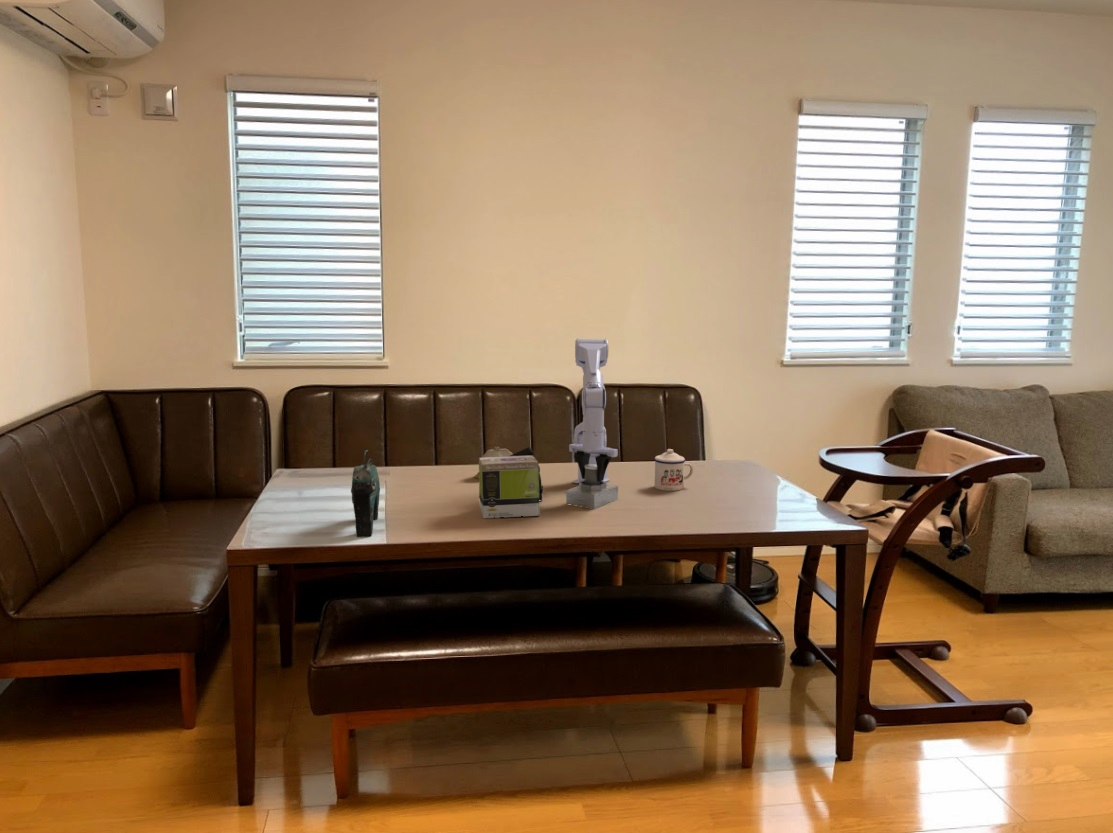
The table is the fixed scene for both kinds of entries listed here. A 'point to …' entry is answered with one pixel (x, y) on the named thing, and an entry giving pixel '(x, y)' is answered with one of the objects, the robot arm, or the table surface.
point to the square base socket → (592, 495)
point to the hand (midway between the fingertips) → (592, 479)
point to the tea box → (509, 486)
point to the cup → (591, 475)
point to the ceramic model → (495, 454)
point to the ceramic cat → (365, 497)
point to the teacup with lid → (670, 471)
